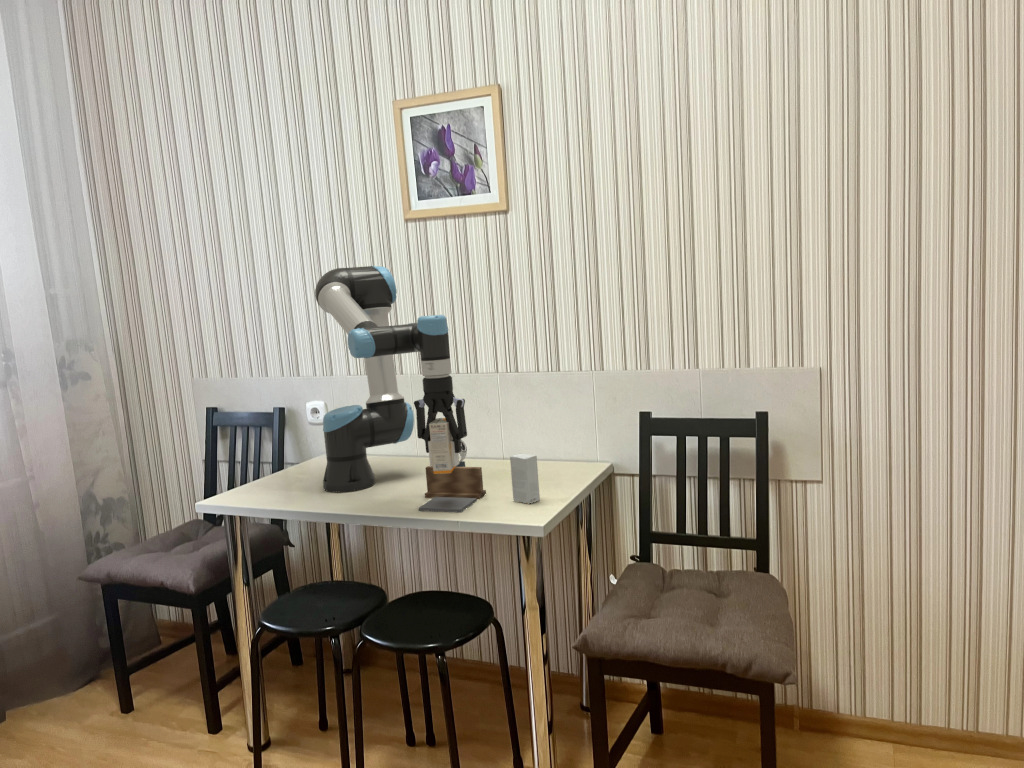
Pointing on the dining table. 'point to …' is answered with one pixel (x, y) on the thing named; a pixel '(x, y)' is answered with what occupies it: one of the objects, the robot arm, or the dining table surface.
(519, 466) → the skincare box
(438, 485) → the stepped wooden ledge
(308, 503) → the dining table surface
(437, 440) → the supplement box
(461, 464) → the watch
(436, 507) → the pad
